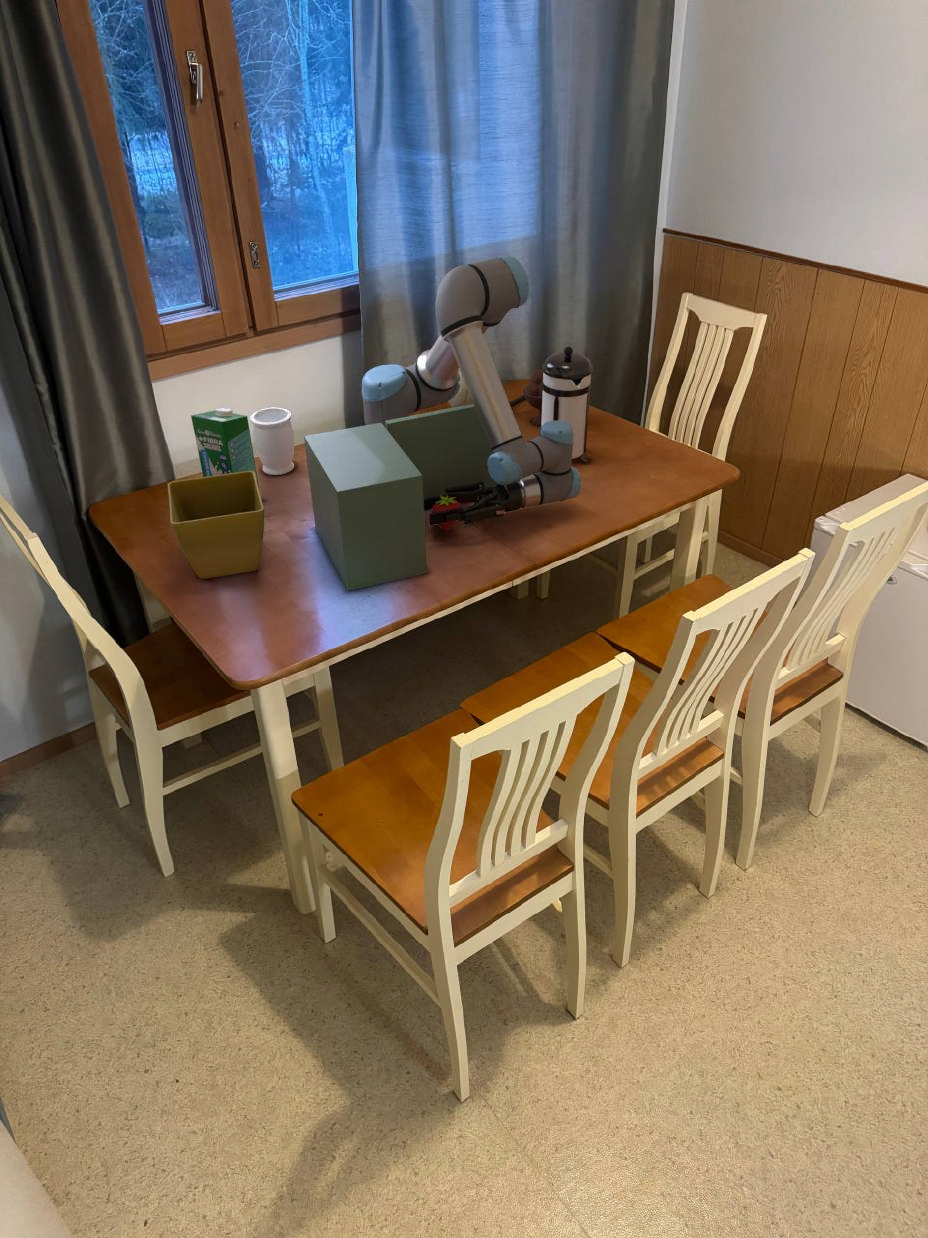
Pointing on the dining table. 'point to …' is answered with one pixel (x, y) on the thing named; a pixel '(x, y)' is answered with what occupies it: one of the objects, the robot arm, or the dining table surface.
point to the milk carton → (223, 442)
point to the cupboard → (367, 505)
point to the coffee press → (568, 395)
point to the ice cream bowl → (535, 394)
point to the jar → (274, 439)
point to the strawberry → (445, 505)
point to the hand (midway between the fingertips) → (425, 512)
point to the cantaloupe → (461, 394)
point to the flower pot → (218, 522)
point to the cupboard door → (445, 447)
